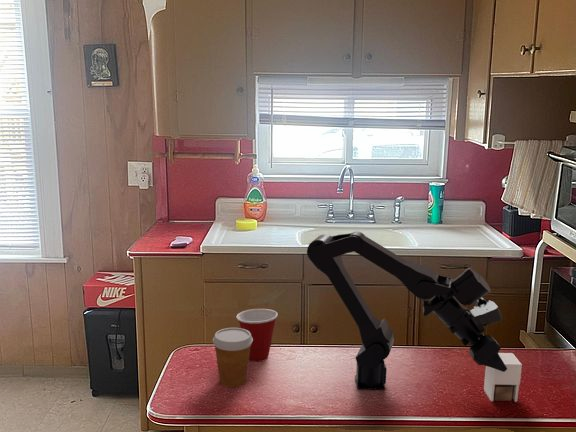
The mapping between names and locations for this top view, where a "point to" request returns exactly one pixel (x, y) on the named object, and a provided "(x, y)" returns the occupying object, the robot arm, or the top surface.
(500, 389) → the walnut block
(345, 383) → the top surface
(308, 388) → the top surface
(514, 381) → the white notched block
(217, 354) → the disposable coffee cup
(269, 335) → the plastic cup
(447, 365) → the top surface
